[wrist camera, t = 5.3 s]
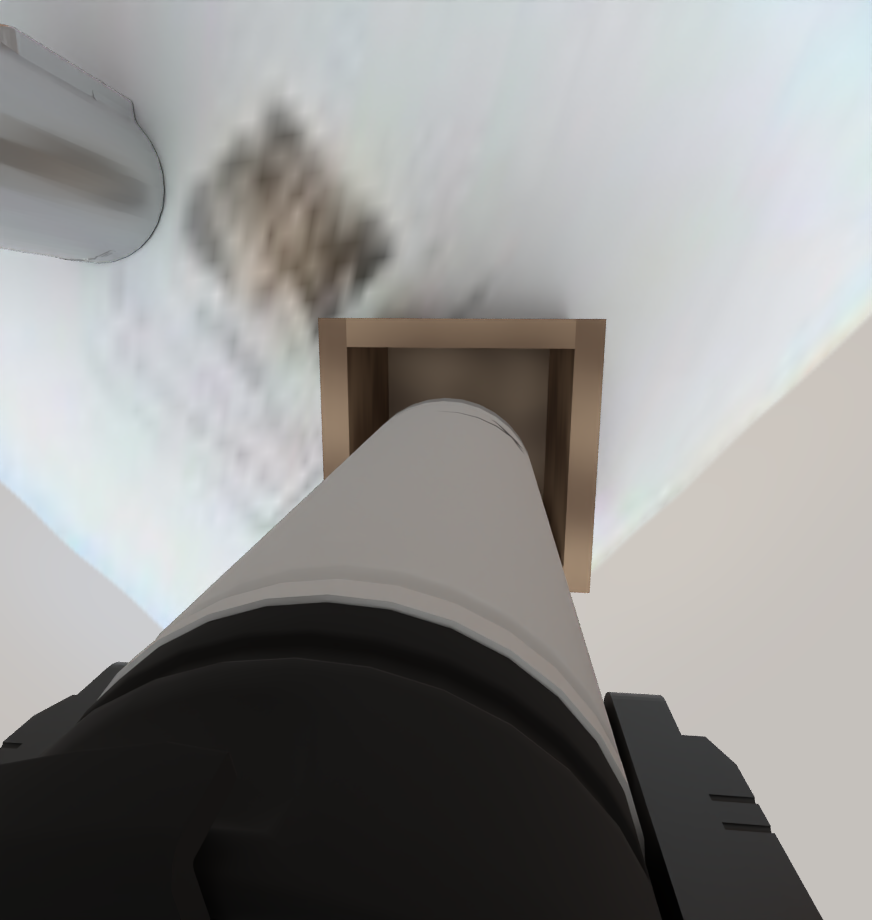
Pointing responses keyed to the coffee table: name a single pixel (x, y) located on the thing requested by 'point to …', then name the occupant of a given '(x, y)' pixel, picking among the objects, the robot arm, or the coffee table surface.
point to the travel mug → (351, 721)
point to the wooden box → (480, 398)
